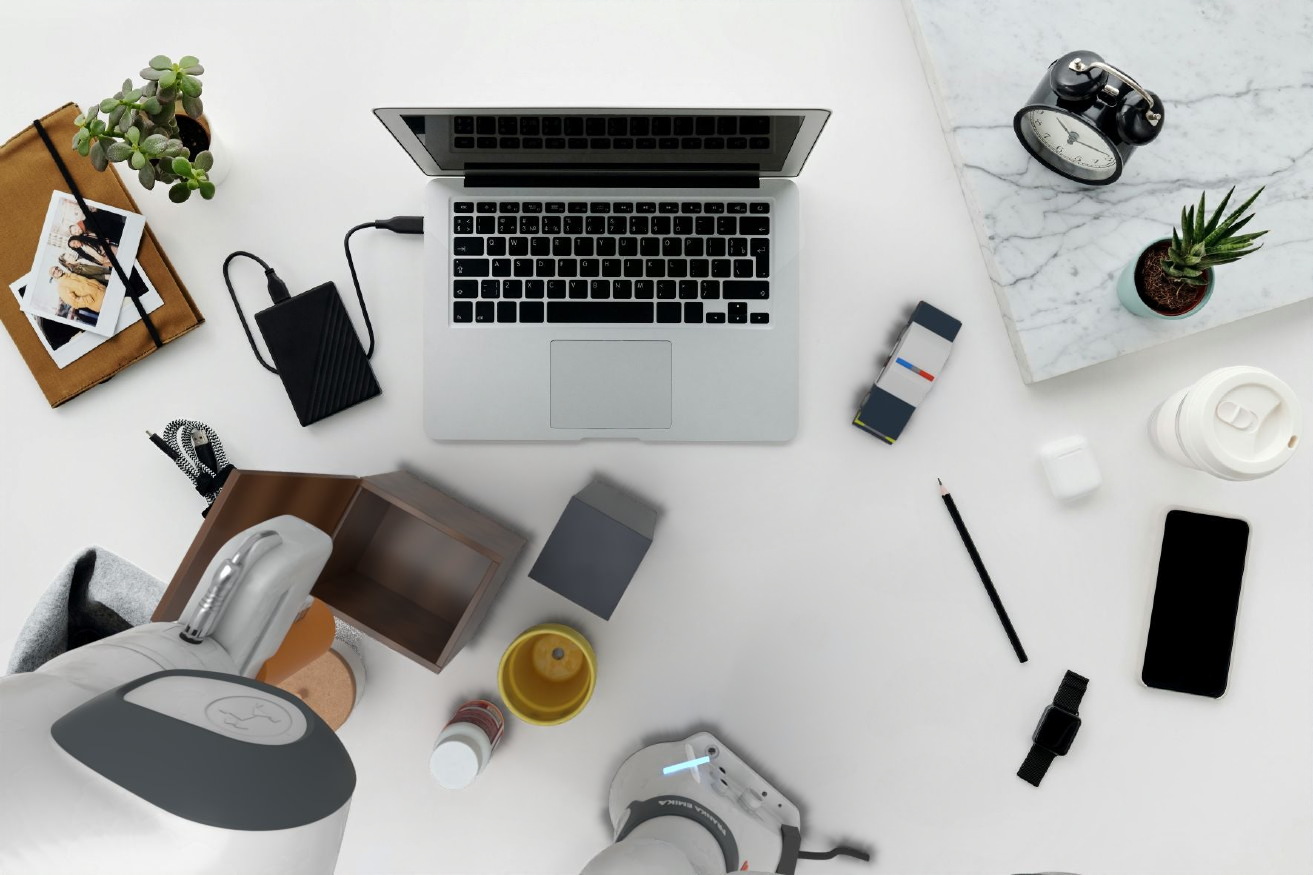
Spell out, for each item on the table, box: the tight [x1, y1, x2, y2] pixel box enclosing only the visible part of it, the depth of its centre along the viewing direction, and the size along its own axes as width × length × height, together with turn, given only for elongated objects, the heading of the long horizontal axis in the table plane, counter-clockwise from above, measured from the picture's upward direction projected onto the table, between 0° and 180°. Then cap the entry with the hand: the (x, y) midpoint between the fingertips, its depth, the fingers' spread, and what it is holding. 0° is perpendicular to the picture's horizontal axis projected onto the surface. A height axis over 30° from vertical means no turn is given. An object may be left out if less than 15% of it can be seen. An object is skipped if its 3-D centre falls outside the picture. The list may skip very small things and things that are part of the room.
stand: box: [527, 478, 657, 622], centre depth 79 cm, size 8×8×24 cm
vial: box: [255, 596, 337, 686], centre depth 53 cm, size 5×5×10 cm
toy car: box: [851, 300, 963, 446], centre depth 88 cm, size 5×16×5 cm, turn 151°
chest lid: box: [149, 468, 361, 623], centre depth 69 cm, size 18×14×1 cm
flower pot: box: [496, 622, 598, 727], centre depth 87 cm, size 10×10×10 cm
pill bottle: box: [429, 699, 505, 791], centre depth 86 cm, size 6×6×11 cm
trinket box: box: [275, 638, 367, 733], centre depth 87 cm, size 11×11×9 cm
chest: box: [309, 470, 528, 675], centre depth 85 cm, size 17×14×13 cm
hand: (278, 641), depth 54 cm, fingers closed on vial, 5 cm apart
